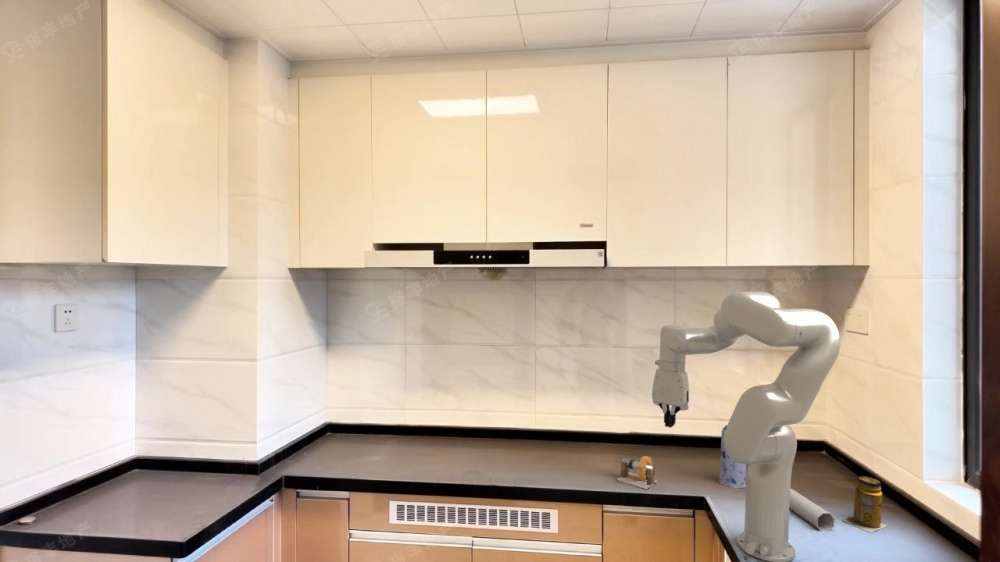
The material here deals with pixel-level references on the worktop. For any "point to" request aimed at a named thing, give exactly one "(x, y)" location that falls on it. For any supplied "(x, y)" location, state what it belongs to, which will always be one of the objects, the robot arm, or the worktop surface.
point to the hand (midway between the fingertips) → (669, 426)
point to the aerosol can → (731, 469)
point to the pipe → (636, 465)
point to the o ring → (643, 467)
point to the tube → (811, 512)
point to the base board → (635, 475)
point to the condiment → (867, 505)
